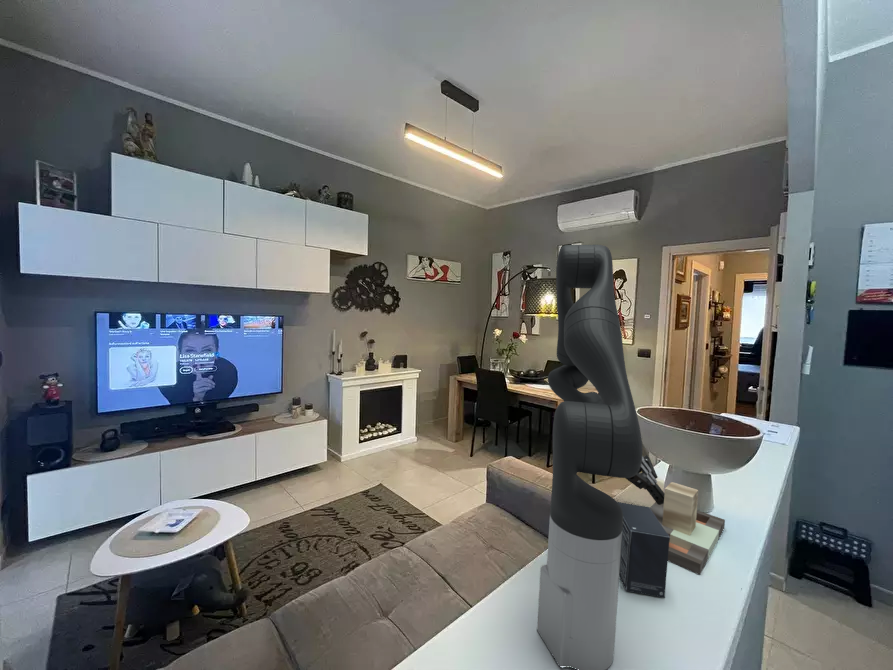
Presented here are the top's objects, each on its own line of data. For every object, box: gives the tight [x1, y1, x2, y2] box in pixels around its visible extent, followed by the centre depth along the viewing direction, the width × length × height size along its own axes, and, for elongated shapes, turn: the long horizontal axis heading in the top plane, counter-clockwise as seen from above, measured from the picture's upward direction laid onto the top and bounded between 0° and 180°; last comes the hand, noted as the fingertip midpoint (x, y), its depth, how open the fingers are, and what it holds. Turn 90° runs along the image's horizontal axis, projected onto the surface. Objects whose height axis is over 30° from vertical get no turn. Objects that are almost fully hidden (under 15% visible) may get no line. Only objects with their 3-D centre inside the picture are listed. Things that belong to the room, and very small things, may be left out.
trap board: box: [649, 501, 726, 576], centre depth 79 cm, size 23×13×2 cm, turn 134°
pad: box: [670, 522, 720, 559], centre depth 76 cm, size 10×6×2 cm, turn 134°
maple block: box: [662, 481, 699, 536], centre depth 78 cm, size 5×5×8 cm
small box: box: [616, 501, 670, 599], centre depth 65 cm, size 11×6×10 cm, turn 168°
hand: (663, 502), depth 80 cm, fingers closed
